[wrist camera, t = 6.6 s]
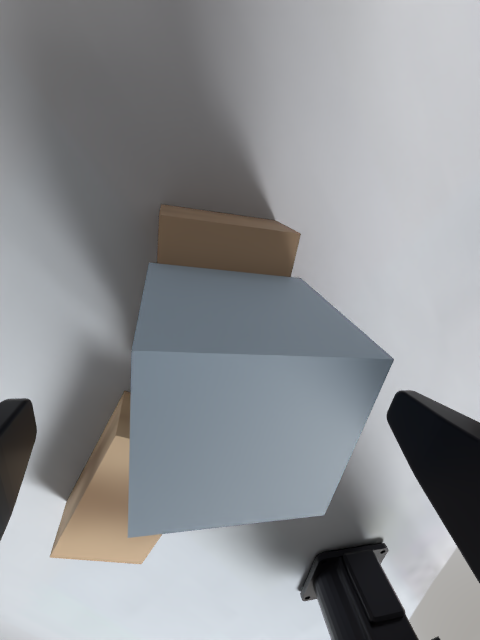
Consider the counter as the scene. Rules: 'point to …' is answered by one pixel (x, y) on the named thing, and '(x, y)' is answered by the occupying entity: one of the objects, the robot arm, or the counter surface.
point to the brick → (103, 502)
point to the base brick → (225, 242)
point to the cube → (242, 399)
